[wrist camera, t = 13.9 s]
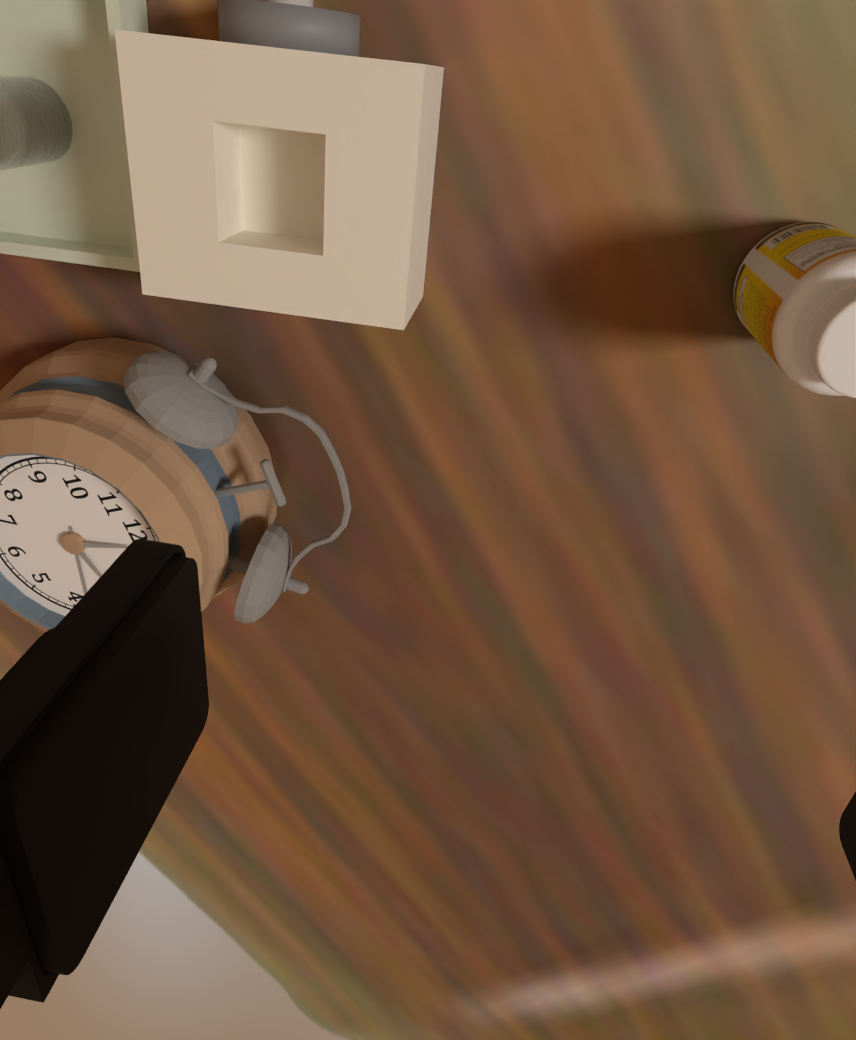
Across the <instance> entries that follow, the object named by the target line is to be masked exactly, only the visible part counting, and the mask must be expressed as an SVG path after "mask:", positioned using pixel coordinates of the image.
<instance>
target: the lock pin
mask: <svg viewBox="0 0 856 1040" xmlns="http://www.w3.org/2000/svg"><path fill="white" fill-rule="evenodd" d="M71 141H72V122H71V118H70V115H69V112H68V110H67V107H66V105H65V104H64V102H63V100H62V99H61V97H60V96H59V95H58V94H57V92H56V91H55V90H54V89H53V88H51V87H50V86H49V85H48V84H46V83H45V82H43V81H41V80H39V79H36V78H33V77H24V76H13V77H0V171H2V170H7V169H13V168H18V167H24V166H30V165H35V164H41V163H47V162H52V161H55V160H58V159H60V158H61V157H62V156H64V154H65V153H66V152H67V150H68V149H69V147H70V144H71Z"/></svg>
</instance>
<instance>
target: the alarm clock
mask: <svg viewBox="0 0 856 1040" xmlns="http://www.w3.org/2000/svg"><path fill="white" fill-rule="evenodd" d="M216 366H217V364H216V361H215V360H214V359H213V358H210V357H209V358H205V359H203V360H202V362H201V363H198V362H197V361H195V360H192V359H190V358H187V357H185V356H183V355H180V354H176V353H172V352H169V351H167V350H165V349H162V348H160V347H158V346H156V345H153V344H149V343H143V342H137V341H132V340H126V339H120V338H115V337H111V338H101V339H91V340H80V341H76V342H74V343H72V344H69V345H67V346H65V347H62V348H60V349H58V350H56V351H53V352H51V353H49V354H47V355H45V356H43V357H41V358H39V359H38V360H36V361H34V362H32V363H30V364H28V365H27V366H25V367H24V368H23V369H22V370H21V371H20V372H19V373H18V374H17V375H16V376H15V377H14V378H13V379H12V380H11V381H10V382H9V383H8V384H6V385H5V386H4V387H3V388H2V390H1V391H0V603H1V604H3V605H4V606H5V607H6V608H7V609H8V610H10V611H11V612H12V613H14V614H15V615H17V616H19V617H20V618H22V619H24V620H25V621H27V622H29V623H30V624H32V625H34V626H35V627H37V628H39V629H40V630H43V631H45V632H47V631H48V630H49V629H52V628H55V627H56V626H57V625H58V624H59V623H60V621H61V620H62V619H63V618H64V617H65V616H66V615H67V614H68V613H69V611H70V610H71V609H72V608H73V607H74V606H75V605H76V604H77V603H78V601H79V600H80V599H81V598H82V597H83V596H84V595H85V594H86V593H87V591H88V590H89V589H90V588H91V587H92V586H93V585H94V584H95V583H96V581H97V580H98V579H99V578H100V577H101V576H102V575H103V574H104V573H105V571H106V570H107V569H108V568H109V567H110V566H111V565H112V564H113V563H114V561H115V560H116V559H117V558H118V557H119V556H120V555H121V554H122V553H123V551H124V550H125V549H126V548H127V547H128V546H129V545H130V544H131V543H132V542H133V541H134V540H136V539H145V540H151V541H157V542H164V543H170V544H176V545H180V546H182V547H183V549H184V551H185V554H186V557H188V558H193V559H195V561H196V563H197V568H198V578H199V591H200V603H201V612H202V611H203V610H204V609H205V608H206V607H207V605H208V604H209V603H210V602H211V600H212V599H213V598H214V597H216V596H217V595H219V594H220V593H222V592H223V591H225V590H227V589H228V588H230V587H231V586H233V585H234V584H236V583H237V582H238V581H239V580H240V579H241V577H242V576H243V575H244V574H245V577H244V580H243V583H242V586H241V589H240V592H239V596H238V599H237V602H236V607H235V613H234V617H235V620H236V621H238V622H241V623H252V622H254V621H256V620H257V619H259V618H261V617H262V616H263V615H264V614H265V613H266V612H267V611H269V610H270V608H271V607H272V606H273V604H274V603H275V602H276V600H277V599H278V597H279V595H280V593H281V592H283V593H284V592H285V591H286V589H287V590H290V591H293V592H296V593H298V594H305V593H307V592H308V590H309V587H308V585H307V584H306V583H305V582H303V581H300V580H297V579H295V578H292V577H290V576H291V572H292V569H293V568H294V566H295V565H296V564H297V562H298V561H299V560H300V559H301V558H302V557H303V556H304V555H306V554H307V553H308V552H309V551H310V550H311V549H313V548H314V547H316V546H319V545H322V544H325V543H328V542H331V541H334V540H335V538H336V537H337V536H338V535H339V534H340V533H341V532H342V531H343V530H344V529H345V527H346V526H347V524H348V520H349V516H350V511H351V502H350V496H349V489H348V485H347V481H346V477H345V474H344V470H343V467H342V465H341V463H340V460H339V458H338V456H337V454H336V451H335V449H334V448H333V446H332V444H331V442H330V440H329V439H328V437H327V435H326V433H325V431H324V430H323V429H322V428H321V427H320V426H319V425H318V424H317V423H316V422H314V421H313V420H312V419H311V418H310V417H309V416H308V415H306V414H304V413H301V412H299V411H296V410H294V409H292V408H289V407H287V406H264V407H260V406H257V405H254V404H251V403H248V402H244V401H241V400H238V399H236V398H235V397H234V396H233V395H232V394H231V393H230V392H229V390H228V389H227V388H226V386H225V384H224V383H223V382H222V381H221V380H220V379H219V378H218V377H217V376H215V375H214V374H213V372H214V371H215V370H216ZM246 410H248V411H251V412H255V413H282V414H285V415H287V416H290V417H292V418H294V419H297V420H299V421H302V422H303V423H304V424H305V425H306V426H307V427H309V428H310V429H311V430H312V431H313V432H314V433H315V434H316V435H317V436H318V438H319V440H320V441H321V443H322V445H323V447H324V449H325V451H326V453H327V454H328V456H329V459H330V461H331V463H332V465H333V467H334V470H335V472H336V475H337V479H338V483H339V486H340V491H341V496H342V501H343V507H344V511H343V515H342V519H341V523H340V524H339V525H338V526H337V527H336V528H335V529H334V531H333V532H332V533H331V534H330V535H328V536H326V537H323V538H320V539H317V540H314V541H311V542H310V543H309V544H307V545H306V546H305V547H304V548H303V549H302V550H301V551H299V552H298V553H297V554H296V555H295V557H294V559H293V561H292V563H291V556H292V544H291V538H290V535H289V532H288V531H287V530H286V529H285V528H284V527H283V526H281V525H278V524H275V523H274V520H275V517H276V514H277V506H284V505H285V504H286V499H285V496H284V494H283V491H282V489H281V486H280V484H279V481H278V479H277V477H276V474H275V471H274V467H273V463H272V460H271V456H270V452H269V448H268V446H267V445H266V443H265V441H264V439H263V437H262V435H261V434H260V432H259V430H258V428H257V426H256V424H255V423H254V421H253V419H252V417H251V415H250V414H249V413H248V412H247V411H246Z"/></svg>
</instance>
